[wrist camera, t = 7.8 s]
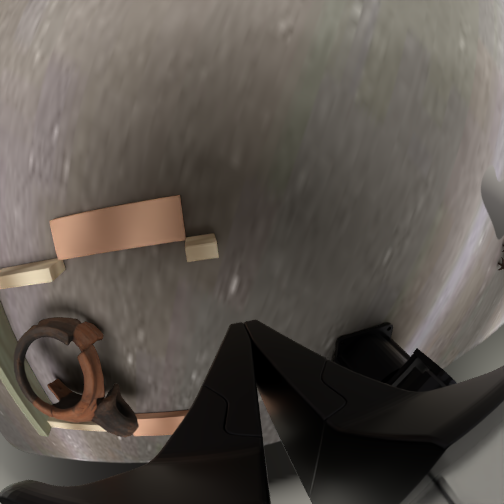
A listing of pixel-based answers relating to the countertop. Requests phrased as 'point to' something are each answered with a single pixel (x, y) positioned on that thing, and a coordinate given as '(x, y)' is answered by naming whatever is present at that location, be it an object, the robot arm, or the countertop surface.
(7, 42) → the countertop surface
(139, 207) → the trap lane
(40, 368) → the countertop surface
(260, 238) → the countertop surface
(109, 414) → the pottery mug
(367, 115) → the countertop surface
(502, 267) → the decorative bird
